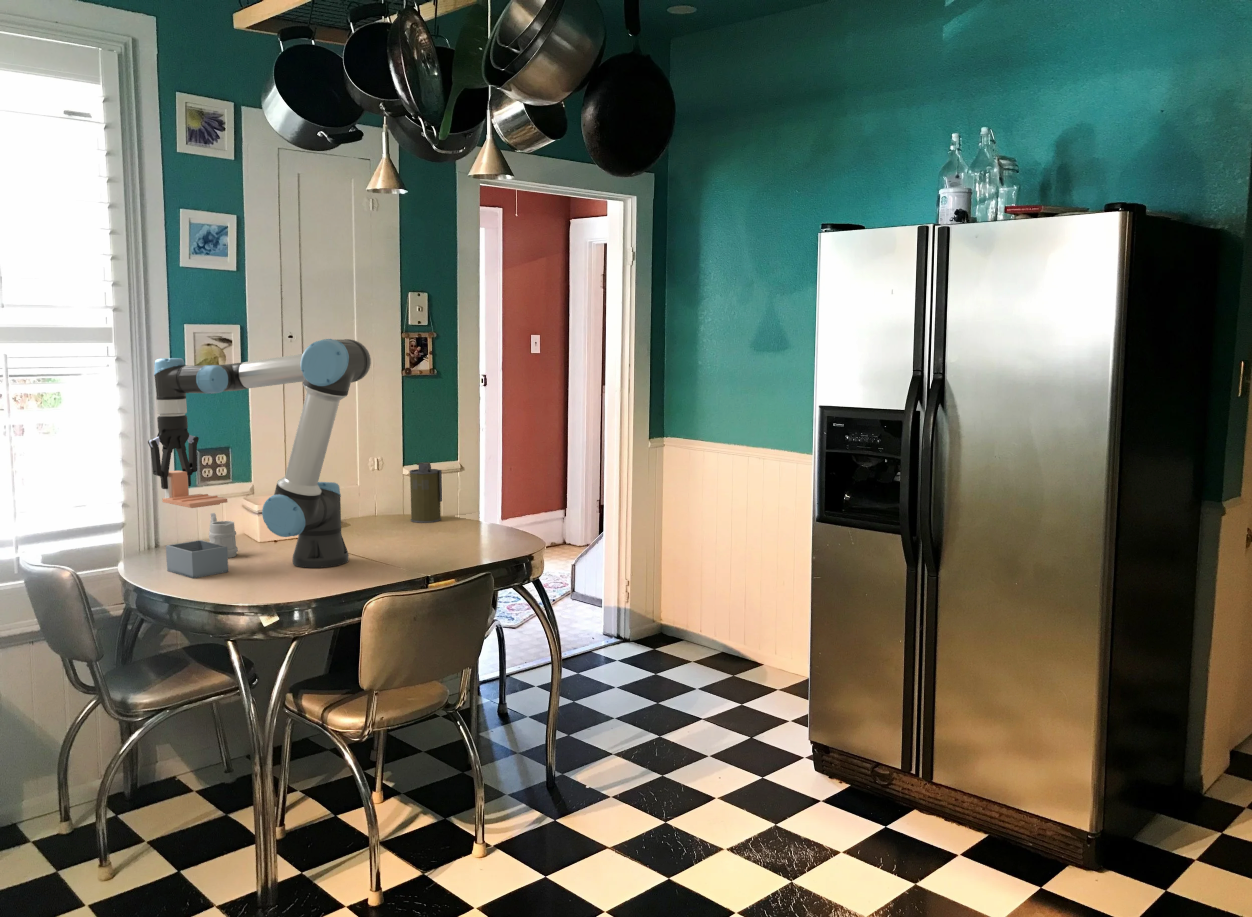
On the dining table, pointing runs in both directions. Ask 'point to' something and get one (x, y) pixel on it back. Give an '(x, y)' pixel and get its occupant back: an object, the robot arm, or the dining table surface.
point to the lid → (181, 493)
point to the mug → (223, 534)
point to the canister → (425, 494)
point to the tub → (197, 558)
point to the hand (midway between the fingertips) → (177, 499)
